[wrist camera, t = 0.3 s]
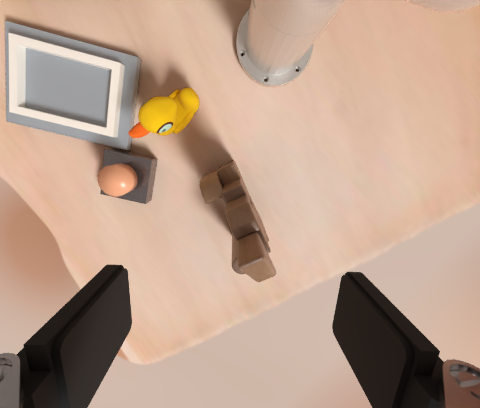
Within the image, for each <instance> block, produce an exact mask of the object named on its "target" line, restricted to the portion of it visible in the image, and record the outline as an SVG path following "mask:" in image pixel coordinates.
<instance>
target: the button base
mask: <svg viewBox="0 0 480 408" xmlns="http://www.w3.org/2000/svg"><path fill="white" fill-rule="evenodd" d="M114 164H126V165H129V166H130V167H132V168H133V169H134V171H135V172H136V174H137V177H138V182H137V185H136V187H135V188H134V189H133V190H132V191H130V192H128V193H126V194H124V195H122V196H117V198H121V199H126V200H130V201H135V202H139V203H144V204H146V203H148V202H149V201H150V200H151V199H152V192H153V186H154V179H155V172H156V166H157V159H155V158H151V157H146V156H142V155H138V154H134V153H130V152H125V151H121V150H117V149H104V160H103V168H104V167H106V166H109V165H114ZM100 194H103V195H108V194H106V193H105V192H104V191H103V190H102V189H101V193H100ZM108 196H110V195H108ZM112 197H115V196H112Z"/></svg>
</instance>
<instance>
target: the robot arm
mask: <svg viewBox="0 0 480 408" xmlns="http://www.w3.org/2000/svg"><path fill="white" fill-rule="evenodd" d="M345 1H346V0H251V5H250V8H249V9H248V11H247V12H246V13H245V15H244V16H243V18H242V20H241V22H240V25H239V28H238V31H237V39H236V49H237V55H238V59H239V62H240V64H241V66H242V68H243V70H244V71H245V72H246V74H247V75H248V76H249V77H250V78H251V79H252V80H254V81H255V82H257V83H259V84H261V85H264V86H270V87H276V86H282V85H285V84H287V83H289V82H291V81H293V80H294V79H295V78H296V77H298V76H299V75H300V74H301V73H302V71H303V70H304V69H305V67H306V66H307V64H308V62H309V60H310V57H311V54H312V50H313V43H314V41H315V40H316V39H317V38H318V37H319V35H320V34H321V33H322V32H323V30H324V29H325V28H326V27H327V25H328V24H329V23H330V22H331V20H332V19H333V18H334V16H335V15H336V14H337V13H338V11H339V10H340V8H341V7H342V5H343V4H344V2H345ZM405 1H408V2H410V3H413V4H416V5H418V6H421V7H423V8H426V9H429V10H432V11H436V12H441V13H455V12H461V11H465V10H468V9H471V8H473V7H476V6H478V5H480V0H405ZM241 54H244V56H241ZM296 69H297V70H298V72H296ZM264 79H266V80H267V82H265V81H264ZM131 324H132V318H131V306H130V294H129V282H128V271H127V269H124V267H123V266H122V265H106V266H105V267H104V268H103V269H102V270H101V271H100V272H99V273H98V274H97V275H96V276H95V277H94V278H93V279H91V280H90V281H89V282H88V283H87V284H86V285H85V286H84V287H83V288H82V289H81V290H80V291H79V292H78V293H77V294H76V295H75V296H74V297H73V298H72V299H71V300H70V301H69V302H68V303H67V304H65V306H63V307H62V308H61V309H60V310H59V311H58V312H57V313H56V314H55V315H54V316H53V317H52V318H51V319H50V320H49V321H48V322H47V323H46V324H45V325H44V326H43V327H42V328H41V329H40V330H38V332H36V333H35V334H34V335H33V336H32V337H31V338H30V339H29V340H28V341H27V342H26V343H25V344H24V348H23V349H22V350H21V351H20V352H19V353H18V354H17V355H15V354H12V353H3V354H0V408H87V407H88V405H89V404H90V402H91V400H92V398H93V396H94V395H95V393H96V391H97V389H98V387H99V386H100V384H101V382H102V380H103V378H104V376H105V375H106V373H107V371H108V369H109V367H110V366H111V364H112V362H113V360H114V358H115V356H116V355H117V353H118V351H119V349H120V347H121V346H122V344H123V342H124V340H125V338H126V337H127V335H128V333H129V331H130V329H131ZM333 333H334V335H335V337H336V339H337V341H338V343H339V345H340V347H341V349H342V351H343V353H344V355H345V356H346V358H347V360H348V362H349V364H350V366H351V368H352V370H353V372H354V373H355V375H356V377H357V379H358V381H359V383H360V385H361V387H362V389H363V390H364V392H365V394H366V396H367V398H368V400H369V402H370V404H371V406H372V408H480V369H479V368H477V367H475V366H474V365H471V364H469V363H466V362H463V361H459V360H454V359H453V360H446V361H445V362H443V361H442V360H441V359H440V358H439V357H438V355H439V353H440V351H439V350H438V349H437V348H436V347H435V346H434V345H433V344H432V343H431V342H430V341H429V340H428V339H427V338H426V337H425V336H424V335H423V334H422V333H421V332H420V331H419V330H418V329H417V328H416V327H415V326H414V325H413V324H412V323H411V322H410V321H409V320H408V319H407V318H406V317H405V316H404V315H403V314H402V313H401V312H400V311H399V310H398V309H397V308H396V307H395V306H394V305H393V304H392V303H391V302H390V301H389V300H388V299H387V298H386V297H385V296H384V295H383V294H382V293H381V292H380V291H379V290H378V289H377V288H376V287H375V286H374V285H373V284H372V283H371V282H370V281H369V280H368V279H367V278H366V277H365V276H364V275H363V274H362V273H361V272H347V273H346V274H345V275H343V276H342V278H341V283H340V288H339V293H338V299H337V304H336V310H335V315H334V320H333Z"/></svg>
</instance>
